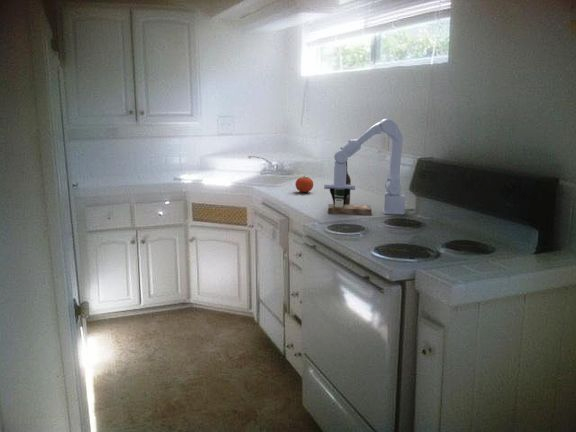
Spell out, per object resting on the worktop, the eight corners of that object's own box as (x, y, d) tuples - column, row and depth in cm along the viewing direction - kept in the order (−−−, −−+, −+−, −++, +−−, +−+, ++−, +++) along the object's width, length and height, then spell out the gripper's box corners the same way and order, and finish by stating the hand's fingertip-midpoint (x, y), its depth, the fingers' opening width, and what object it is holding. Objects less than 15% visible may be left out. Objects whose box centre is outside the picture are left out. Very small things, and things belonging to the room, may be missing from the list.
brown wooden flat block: (369, 210, 252) (369, 204, 252) (371, 214, 242) (371, 208, 242) (328, 209, 254) (328, 203, 253) (328, 213, 244) (328, 207, 243)
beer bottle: (341, 202, 271) (343, 156, 266) (352, 204, 266) (355, 157, 261) (331, 204, 266) (333, 157, 261) (343, 206, 260) (345, 158, 255)
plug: (342, 210, 250) (343, 198, 249) (343, 212, 246) (343, 200, 245) (334, 210, 251) (334, 198, 249) (334, 212, 247) (335, 199, 245)
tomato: (313, 194, 294) (313, 176, 291) (295, 193, 294) (295, 176, 292) (312, 191, 304) (313, 174, 301) (295, 190, 304) (295, 173, 302)
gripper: (324, 176, 241) (323, 205, 244) (356, 177, 240) (354, 206, 243) (324, 174, 248) (323, 202, 251) (355, 175, 247) (354, 203, 250)
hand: (338, 204), depth 248 cm, fingers closed on plug, 4 cm apart
